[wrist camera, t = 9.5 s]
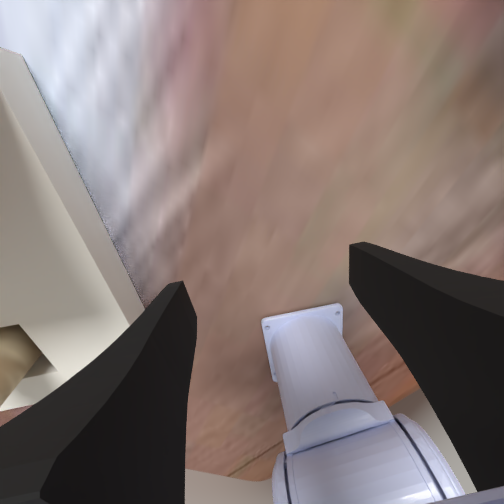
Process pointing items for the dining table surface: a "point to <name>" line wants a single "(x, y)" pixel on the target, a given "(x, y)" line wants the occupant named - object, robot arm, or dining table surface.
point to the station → (52, 245)
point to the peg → (15, 358)
